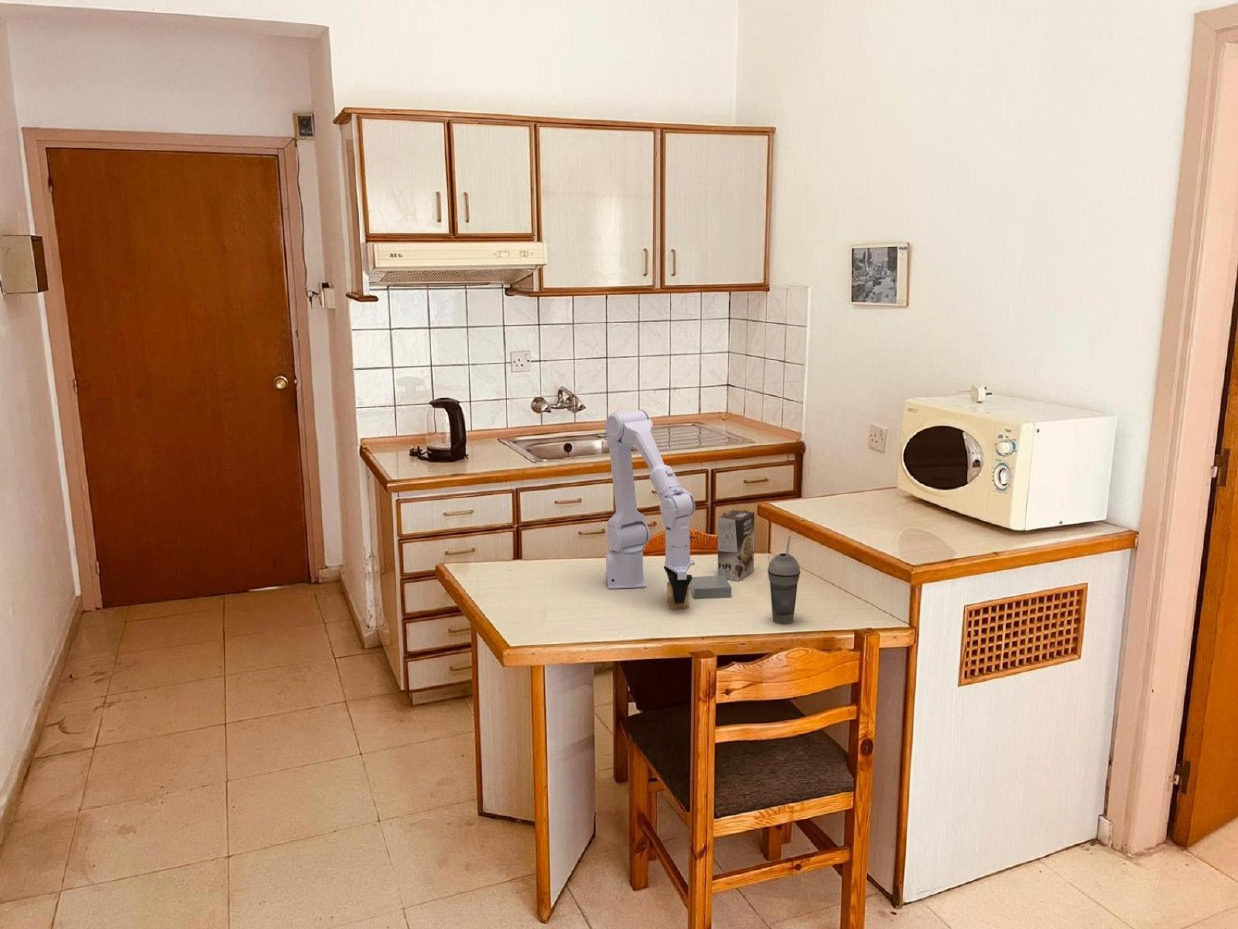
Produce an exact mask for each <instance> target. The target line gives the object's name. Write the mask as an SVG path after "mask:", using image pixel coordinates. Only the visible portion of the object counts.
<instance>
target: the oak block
mask: <svg viewBox="0 0 1238 929" xmlns="http://www.w3.org/2000/svg"><path fill="white" fill-rule="evenodd" d="M666 583H667V584H666V588H667V589H666V590H667V591H666V596H667V598H666V599H667V600H666V603H667V605H668V608H669V609H670V610H674V609H689V608H690V594H689V593H690V588H689V586H688V588H687V592H686V597H685V601H684V603H679V604H675V601H674V596H673V590H672V585H671V582H669V581H667V582H666Z"/></svg>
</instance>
